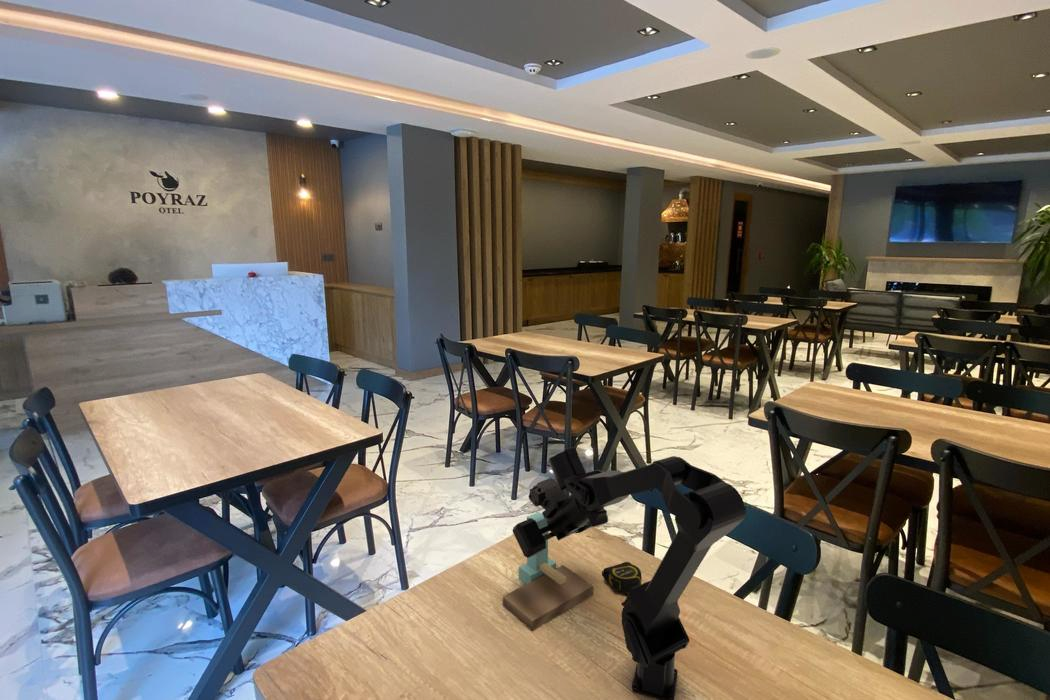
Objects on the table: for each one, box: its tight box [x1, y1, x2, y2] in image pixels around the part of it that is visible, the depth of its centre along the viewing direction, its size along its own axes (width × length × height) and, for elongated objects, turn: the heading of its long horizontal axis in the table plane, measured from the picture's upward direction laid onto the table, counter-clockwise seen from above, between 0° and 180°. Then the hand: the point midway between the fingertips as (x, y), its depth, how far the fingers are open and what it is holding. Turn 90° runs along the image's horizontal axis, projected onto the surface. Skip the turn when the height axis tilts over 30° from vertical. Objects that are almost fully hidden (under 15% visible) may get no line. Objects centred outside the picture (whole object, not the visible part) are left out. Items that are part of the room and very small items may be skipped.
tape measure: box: [601, 561, 643, 594], centre depth 110 cm, size 7×7×4 cm
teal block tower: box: [518, 511, 566, 585], centre depth 109 cm, size 7×10×14 cm
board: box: [502, 565, 595, 632], centre depth 106 cm, size 16×9×2 cm, turn 129°
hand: (538, 539), depth 111 cm, fingers open, 9 cm apart
